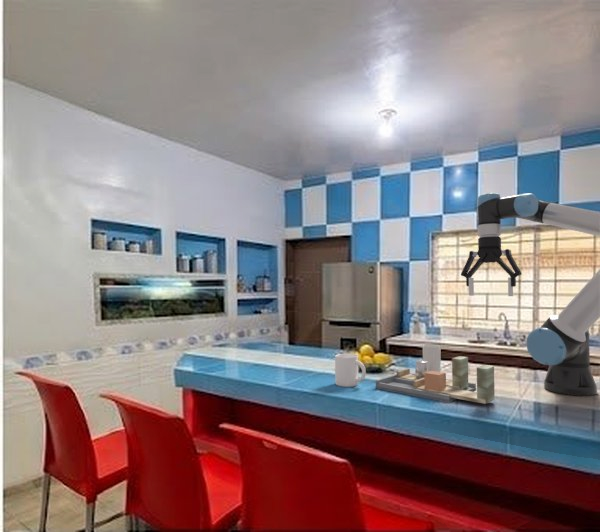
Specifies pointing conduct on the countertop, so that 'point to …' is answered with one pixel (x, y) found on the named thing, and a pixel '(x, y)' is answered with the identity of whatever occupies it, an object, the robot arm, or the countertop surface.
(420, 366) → the tin can
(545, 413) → the countertop surface
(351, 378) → the mug
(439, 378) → the terracotta cube
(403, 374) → the strip
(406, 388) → the lane board
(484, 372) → the strip
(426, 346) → the grey bookend
